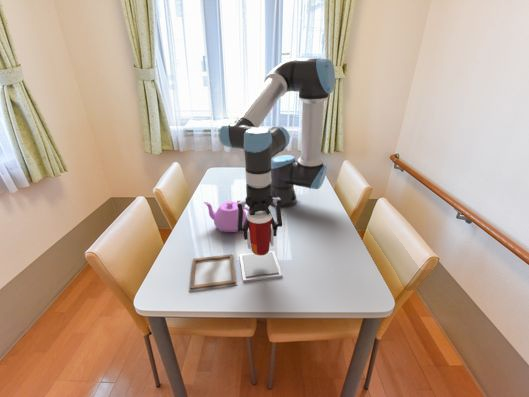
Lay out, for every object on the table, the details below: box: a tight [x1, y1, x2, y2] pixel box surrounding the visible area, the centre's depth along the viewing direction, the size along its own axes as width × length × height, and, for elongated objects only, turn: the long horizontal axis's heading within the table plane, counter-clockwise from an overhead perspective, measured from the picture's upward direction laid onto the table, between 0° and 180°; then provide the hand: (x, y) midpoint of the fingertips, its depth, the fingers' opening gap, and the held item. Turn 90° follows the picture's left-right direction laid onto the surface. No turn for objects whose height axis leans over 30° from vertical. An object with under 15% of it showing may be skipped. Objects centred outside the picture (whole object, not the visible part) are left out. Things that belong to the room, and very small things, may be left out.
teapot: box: [203, 200, 250, 234], centre depth 112 cm, size 20×14×12 cm
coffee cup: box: [246, 208, 274, 255], centre depth 86 cm, size 8×8×15 cm
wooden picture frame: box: [188, 253, 238, 292], centre depth 90 cm, size 15×15×1 cm
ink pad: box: [239, 250, 283, 283], centre depth 92 cm, size 13×13×1 cm
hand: (260, 244), depth 89 cm, fingers closed on coffee cup, 7 cm apart
